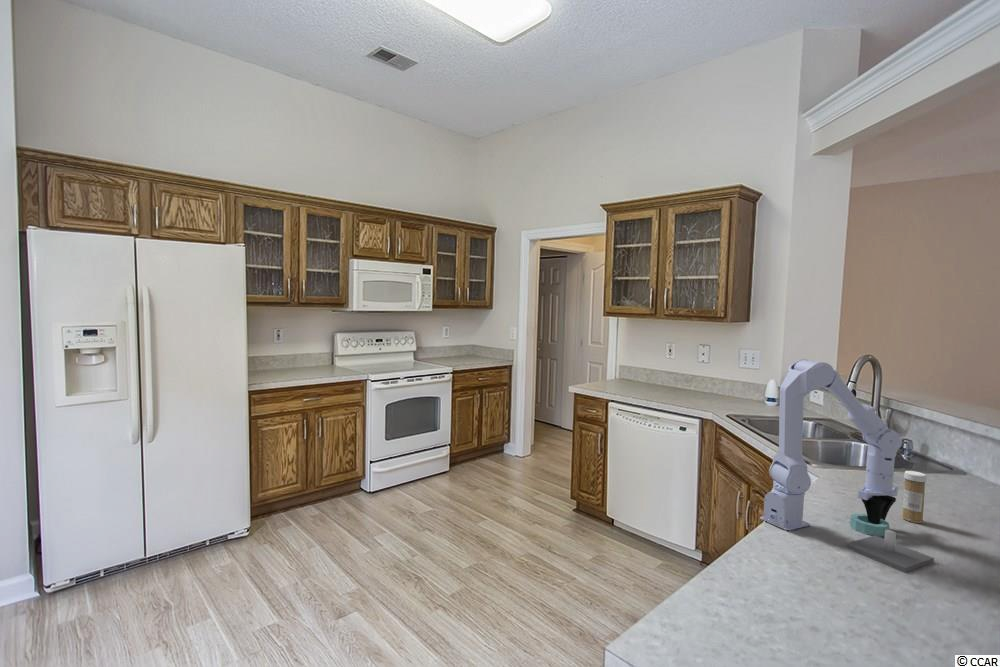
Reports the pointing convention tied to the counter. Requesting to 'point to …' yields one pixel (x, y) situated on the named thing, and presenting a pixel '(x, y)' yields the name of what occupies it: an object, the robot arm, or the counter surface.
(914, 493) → the sprinkles bottle
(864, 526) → the ring
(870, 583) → the counter surface
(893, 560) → the pin board
